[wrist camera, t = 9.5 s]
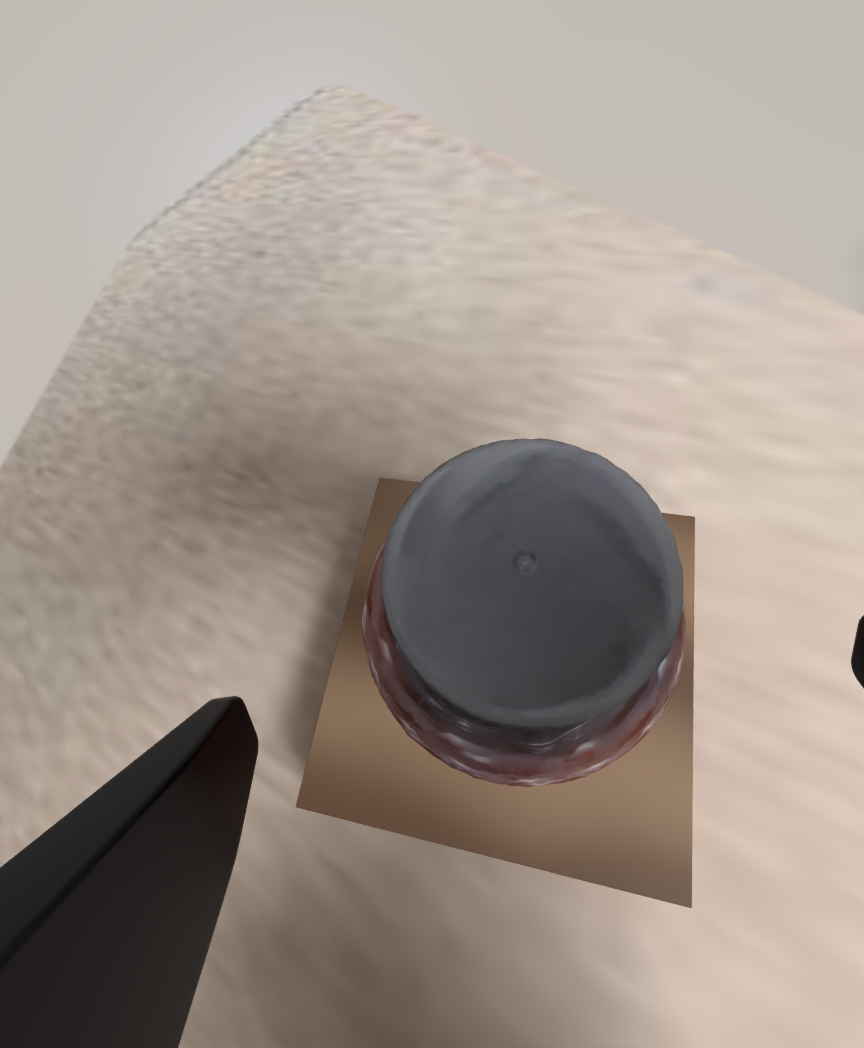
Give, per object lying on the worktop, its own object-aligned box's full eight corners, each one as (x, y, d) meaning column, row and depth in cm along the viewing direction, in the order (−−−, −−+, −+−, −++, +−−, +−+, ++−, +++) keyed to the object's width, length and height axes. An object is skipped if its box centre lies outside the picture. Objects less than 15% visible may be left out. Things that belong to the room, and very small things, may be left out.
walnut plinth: (663, 881, 16) (691, 908, 14) (320, 796, 18) (295, 807, 16) (671, 540, 20) (694, 516, 18) (391, 502, 22) (379, 477, 20)
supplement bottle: (386, 683, 17) (212, 627, 7) (478, 545, 19) (454, 318, 8) (540, 795, 15) (633, 960, 5) (629, 633, 17) (847, 487, 6)
